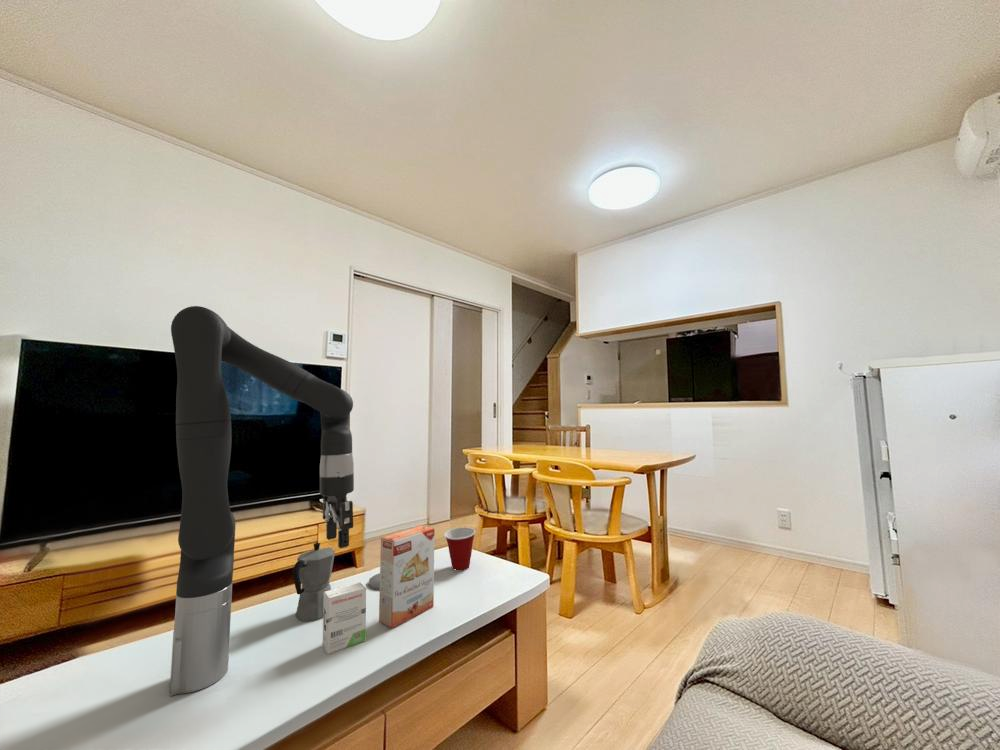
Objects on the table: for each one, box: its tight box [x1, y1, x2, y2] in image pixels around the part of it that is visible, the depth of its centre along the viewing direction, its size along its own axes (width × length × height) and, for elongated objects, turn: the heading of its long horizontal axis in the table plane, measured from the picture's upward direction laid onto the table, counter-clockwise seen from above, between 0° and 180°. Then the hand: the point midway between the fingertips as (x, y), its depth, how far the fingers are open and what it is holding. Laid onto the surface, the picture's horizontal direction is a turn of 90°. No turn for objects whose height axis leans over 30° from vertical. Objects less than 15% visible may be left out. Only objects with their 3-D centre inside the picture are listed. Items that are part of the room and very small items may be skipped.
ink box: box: [322, 582, 367, 655], centre depth 90 cm, size 9×5×12 cm, turn 126°
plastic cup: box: [443, 526, 476, 571], centre depth 133 cm, size 11×11×12 cm
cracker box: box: [378, 525, 435, 629], centre depth 103 cm, size 14×6×21 cm, turn 143°
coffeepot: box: [291, 542, 336, 622], centre depth 103 cm, size 15×9×18 cm, turn 169°
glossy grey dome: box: [368, 572, 380, 590], centre depth 122 cm, size 12×12×1 cm
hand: (337, 542), depth 92 cm, fingers open, 8 cm apart
